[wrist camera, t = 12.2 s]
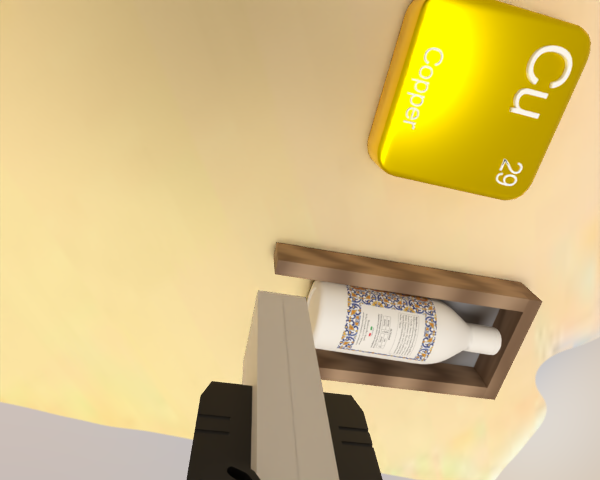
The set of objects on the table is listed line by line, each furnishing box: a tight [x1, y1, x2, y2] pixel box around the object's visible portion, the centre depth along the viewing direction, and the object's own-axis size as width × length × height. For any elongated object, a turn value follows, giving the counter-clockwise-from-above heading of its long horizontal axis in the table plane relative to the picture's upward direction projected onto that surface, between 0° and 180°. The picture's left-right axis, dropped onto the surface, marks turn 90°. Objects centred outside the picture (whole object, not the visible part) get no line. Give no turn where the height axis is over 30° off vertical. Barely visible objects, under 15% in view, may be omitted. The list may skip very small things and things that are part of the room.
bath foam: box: [307, 280, 501, 364], centre depth 45 cm, size 7×7×20 cm
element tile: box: [367, 0, 591, 200], centre depth 39 cm, size 15×15×5 cm
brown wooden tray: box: [274, 242, 542, 400], centre depth 48 cm, size 28×13×4 cm, turn 78°
